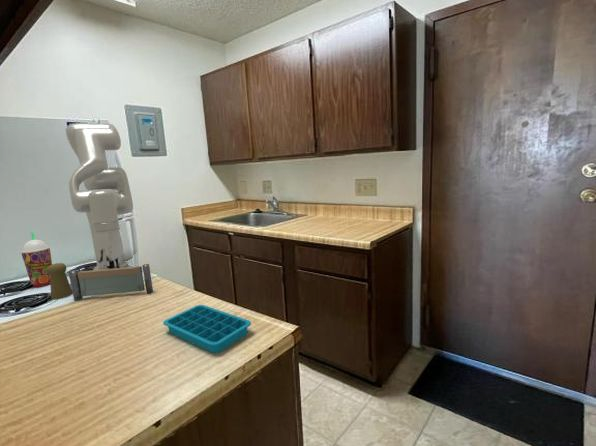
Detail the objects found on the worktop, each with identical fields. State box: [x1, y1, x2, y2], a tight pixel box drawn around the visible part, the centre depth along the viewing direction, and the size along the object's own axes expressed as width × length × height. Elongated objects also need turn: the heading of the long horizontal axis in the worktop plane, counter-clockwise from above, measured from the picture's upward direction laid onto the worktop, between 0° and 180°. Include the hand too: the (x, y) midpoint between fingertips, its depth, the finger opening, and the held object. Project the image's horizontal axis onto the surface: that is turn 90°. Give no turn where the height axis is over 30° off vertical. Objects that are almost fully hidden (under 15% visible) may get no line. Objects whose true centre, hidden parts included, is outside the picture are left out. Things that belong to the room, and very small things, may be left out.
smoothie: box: [20, 231, 53, 288], centre depth 117 cm, size 8×8×20 cm
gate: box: [77, 265, 146, 298], centre depth 102 cm, size 19×2×8 cm, turn 96°
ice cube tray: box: [162, 304, 252, 354], centre depth 76 cm, size 12×20×3 cm, turn 54°
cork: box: [47, 262, 73, 300], centre depth 105 cm, size 6×6×11 cm
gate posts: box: [68, 263, 154, 302], centre depth 102 cm, size 2×24×10 cm, turn 96°
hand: (115, 278), depth 111 cm, fingers closed
